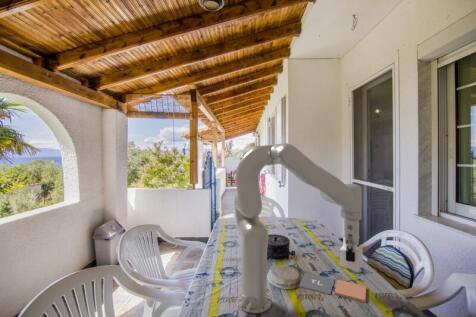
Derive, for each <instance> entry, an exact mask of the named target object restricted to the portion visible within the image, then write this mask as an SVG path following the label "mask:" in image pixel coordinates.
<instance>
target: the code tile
mask: <svg viewBox="0 0 476 317" xmlns="http://www.w3.org/2000/svg"><path fill="white" fill-rule="evenodd" d="M299 283H300V285H299V284H298V285H299V286H298V287H299V288H303V289H306V290H310V291H314V292H318V293H322V294H326V295H329V296H330V295H331V294H332V290H333V288H332V287H334V283H335V279H334V278H331V277H326V276H321V275H318V274H313V273H310V272H305V273H304V274H303V276H302V278H301V279H300V281H299Z"/></svg>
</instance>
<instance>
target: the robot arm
mask: <svg viewBox="0 0 476 317" xmlns="http://www.w3.org/2000/svg"><path fill="white" fill-rule="evenodd" d="M274 165H281V166H283V167H284V168H285V169H286V170H288V171H289V172H290V173H292V174H293V175H294V176H295V177H296V178H298V180H300V181H301V182H302V183H305V184H306V185H309V186H311V187H313V188H315V189H317V190H319V191H320V196H321V198H322V199H323V200H324V201H325V202H328V203H331V204H334V205H337V206H340V207H341V208H340V209H341V210H340V211H341V212H340V213H341V214H340V216H341V217H340V218H341V219H344V223H343V224H344V226H343V227H344V228H343V232H344V233H343V234H344V235H343V237H345V243H346V244H347V246H346V261H350V262H355V252H354V244H355V245H356V246H357V245H358V244H359V245H360V221H361V220H362V202H363V201H362V195H363V194H362V191H363V190H362V186H361V185H359V184H355V183H344V181H342V180H341V179H339V178H338V177H336V176H335V175H334V174H332V173H330V172H329V171H327V170H326V169H324V168H322V167H321V166H319V165H318V164H317V163H315V162H314V161H313V160H312V159H310V158H309V157H308V156H306V155H305V154H304V153H303V152H301V151H300V150H299V149H298V148H297V147H296V146H295V145H293V144H291V143H288V142H287V143H286V142H284V143H276V144H275V143H274V144H269V145H267V144H266V145H252V146H249V147H247V148H245V150H244V151H243V154H242V158H241V160H240V161H239V163H238V165H237V167H236V173H235V181H236V182H235V183H236V191H237V193H236V194H235V196H234V199H233V200H234V201H233V202H234V203H233V206H234V212H235V219H236V226H237V230H238V233H239V235H240V236H241V238H242V246H241V247H242V248H241V294H240V295H239V296H238V298H237V304H238V305H237V310H238V311H240V312H242V311H244V312H246V313H249V314H250V313H251V314H261V313H265V312H266V311H268V310H269V309H271V305H272V299H271V297H270V296H269V295H268V245H269V232H268V231H269V230H268V229H267V227H266V225H264V223H263V222H262V221H261V220H260V217H259V216H260V214H261V212H262V211H263V201H262V197H261V190H260V189H261V188H260V180H259V179H260V174H261V171H262V170H263V168H265V167H266V166H274ZM352 242H353V244H352ZM352 246H353V247H352Z"/></svg>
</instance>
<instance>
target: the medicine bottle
mask: <svg viewBox="0 0 476 317" xmlns="http://www.w3.org/2000/svg"><path fill="white" fill-rule="evenodd" d="M342 237H343V238H342V239H343V240H342V246H341V247H340V248H339V266H340V267H343V268H346V269H349V270H353V271H356V272H358V271H359V270H360V269H361V267H362V266H363V257H364V256H363V250H364V249H363V247H360V243H359V244H358V245H357V246H356V245H355V244H354V252H355V262H350V261H346V246H347V244H346V243H345V237H344V236H342ZM352 244H353V242H352ZM352 247H353V246H352Z"/></svg>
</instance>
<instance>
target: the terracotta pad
mask: <svg viewBox="0 0 476 317" xmlns="http://www.w3.org/2000/svg"><path fill="white" fill-rule="evenodd" d="M334 295H335V296H339V297H343V298H345V299H351V300H353V301H356V302H362V303H366V301H367V300H366V298H367V297H366V296H367V286H366V285H362V284H358V283H355V282H350V281H345V280H341V279H337V282H336V286H335V289H334Z"/></svg>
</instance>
